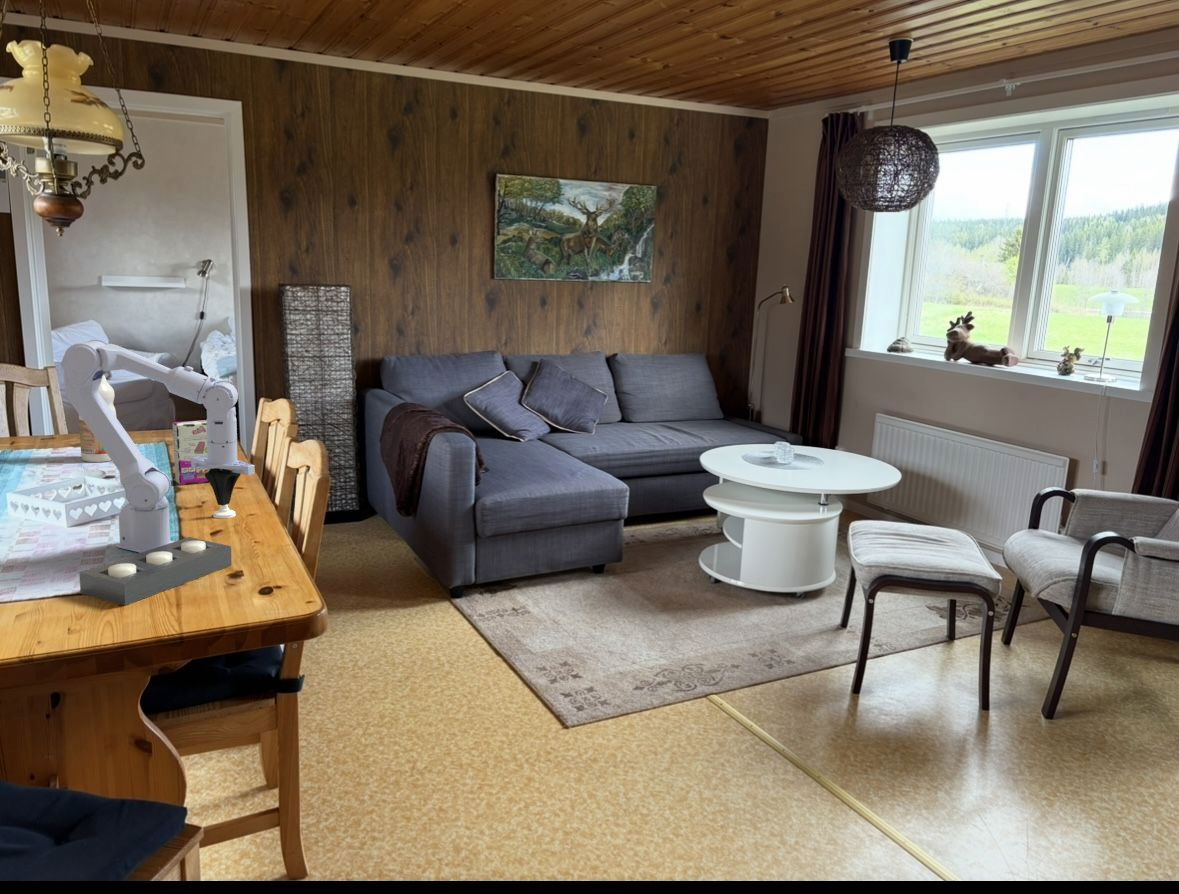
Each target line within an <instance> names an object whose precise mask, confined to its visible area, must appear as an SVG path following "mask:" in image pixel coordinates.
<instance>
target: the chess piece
mask: <svg viewBox="0 0 1179 894" xmlns="http://www.w3.org/2000/svg"><path fill="white" fill-rule="evenodd" d="M228 505H229V504H227V505H224V506H222V505H220V507H219V509H218V510H216V511H214V512H213V518H214V519H215V518H216V519H221V520H222V519H231V518H234V517H235V516H237V515H236V511H235V510H233V509H230V508H229V506H228Z"/></svg>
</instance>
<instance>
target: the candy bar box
mask: <svg viewBox="0 0 1179 894" xmlns="http://www.w3.org/2000/svg"><path fill="white" fill-rule="evenodd" d="M206 420H207V419H206ZM206 420H205V419H204V420H192V421H189V420H188V421H175V422H172V437H173V439H172V441H173V459H174V476H175V477H174V478H175V482H176V484H178V485H179V486H188V485H195V484H205V483H209V481H208V480H207V478H206V477H205V473H206V472H209V470H210V469H208V468H202V467H191V458H194V457H207V422H206Z"/></svg>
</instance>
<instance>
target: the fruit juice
mask: <svg viewBox="0 0 1179 894" xmlns="http://www.w3.org/2000/svg"><path fill="white" fill-rule="evenodd" d="M98 392H99V394H100V395H101V396H102V398H103V399H104V401H105V402H106V404H107V405H108V406H109V408H110V409H111V411H112V412H113V414H114V415H115V417H116V418H117V411H116V407H115V405H114V400H115V395H116V394H115V390H114V388H113V387H112V386H111V384H110V383H109V382H108V380H107V378H106V375H105V374H104V375H103V378H102V381H101V384H100V387H99V390H98ZM78 422H79V423H78V425H79V440H80V443H79V444H80V456H81V460H82V461H84V462H87V463H104V462H113V461H112V460H111V459H110V457H109V456H108V454H107V453H106V452H105V450H104V449H103V447H102V446H101V445H100V443H99V442H98V440H97V439H96V437H95V436H94V435H93V433H92V432H91V430H90V429H89V428H88V426H87V425H86V423H85V422H84V421H83V419H82V418H81V416H80V415H79V414H78Z"/></svg>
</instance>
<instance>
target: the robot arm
mask: <svg viewBox="0 0 1179 894" xmlns="http://www.w3.org/2000/svg"><path fill="white" fill-rule="evenodd" d="M60 368H61V369H62V371H63V379H64V390H65V391H64V392H65V396H66V397H67V399H68V401H69V402H70V404H71V405H72V407H74V409H75V411H76V412H77V414H78V416H79V415H80V416H81V418H82V419H83V421H84V422H85V423H86V425H87V426H88V428H89V429H90V430H91V432H92V433H93V435H94V436H95V437H96V439H97V440H98V442H99V443H100V445H101V446H102V447H103V449H104V450H105V452H106V453H107V454H108V456H109V457H110V459H111V460H112V461H111V462H112V463H113V464H114V466H115V467H116V468H117V470H118V471H119V473H118V474H119V482H120V485H121V486H122V487H123V490H124V492H125V498H126V501H127V503H126V504H125V505H124V506H123V507H122V508H121V510H120V511H119V515H118V529H119V530H118V531H119V533H118V534H119V543H118V544H116V545H115V546H116V548H118V549H123V550H127V551H131V552H134V553H135V552H136V553H141V552H144V551H148V550H151V549H154V548H157V547H160V546H163V545H166V544H169V543H173V542H176V541H174V540H171V531H170V530H171V528H170V525H171V524H170V502H169V500H168V499H167V495H168V493H169V492H170V490H171V487H172V482H171V479H170V477H169V476H168V475H167V473H166V472H163V471H162V470H160V469H159V468H157V466H156V465H155V464H154V463H153V461H151V460H150V459H147V458H146V457H145V456H144V455H143V454H142V453H141V451H140V450H139V448H138V447H137V445H136V444H135V443H134V441H133V440H132V438H131V437H130V435H129V433H128V432H127V431H126V429H125V428H124V427H123V425H122V424H121V422H120V421H119V420H118V417H117V416H116V417H115V415H114V414H113V412H112V411H111V409H110V408H109V406H108V405H107V404H106V402H105V401H104V399H103V398H102V396H101V395H100V394H99V392H98V390H99V387H100V384H101V381H102V378H103V375H105V374H106V373H107V372H112V371H119V370H120V371H122V370H123V371H127V372H129V373H132V374H136V375H137V376H138V375H139V376H141V377H143V378H146V379H151V380H153V381H156V382H159V383H162V384H163V385H164V386H165V387H166V389H167V391H168V392H169V393H170V394H173V395H176V396H179V397H180V398H184V399H185V400H186V399H187V400H189V401H191V402H193V403H196V404H199V405H203V407H204V408H205V409H206V422H207V457H194V458H191V467H202V468H208V469H210V470H209V472H206V473H205V477H206V478H207V480H208V481H209V482H208V483H209V485H210V486H211V488H212V490H213V494H214V496H215V497H214V498H215V499H216V503H217V505H218V506H221V505H222V506H224V505H227V504H228V505H229V504H230V503H231V498H232V495H233V491H234V488H235V485H236V483H237V482H238V480H239V478H240V476H241V475H244V476H248V477H249V476H252V475H255V473H256V472H255V470H256V469H255V464H252V463H248V462H244V461H242V460H238V433H237V432H238V431H237V430H238V428H237V426H238V425H237V424H238V423H237V417H236V415H237V412H236V406H235V405H236V403H237V402H238V399H239V393H238V390H237V388H236V386H235V385H234V384H232V383H230V382H229V381H227V380H218V379H217V377H215V376H211V377H209V376H207V375H204V374H202V373H199V372H196V371H194V367H192V366H189V365H187V366H185V367H183V366H176V367H174V368H170V367H167V366H165V365H162V364H160V363H158V362H156V361H154V360H151V359H149V358H148V357H145V356H142V355H140V354H138V353H137V352H133V351H131V350H129V349H126V348H124V347H123V346H120V345H117V344H113V343H108V342H106V341H104V340H101V339H91V340H89V341H88V340H87V341H86V342H82V343H81V342H80V343H75V344H73V345H71V346H69V347H68V348H67V349H66V351H65V352H64V355H63V357H62V359H61V362H60ZM217 380H218V381H217Z"/></svg>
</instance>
